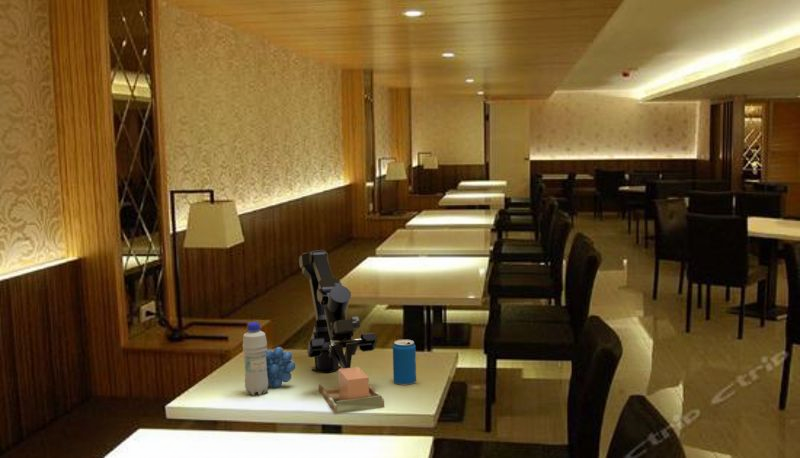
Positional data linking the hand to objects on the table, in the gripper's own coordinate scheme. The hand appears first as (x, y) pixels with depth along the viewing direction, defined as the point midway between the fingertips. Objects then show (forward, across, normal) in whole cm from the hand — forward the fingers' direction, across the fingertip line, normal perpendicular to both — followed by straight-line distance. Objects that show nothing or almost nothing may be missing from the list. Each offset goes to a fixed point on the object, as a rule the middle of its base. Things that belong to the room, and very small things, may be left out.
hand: (348, 372), depth 203 cm
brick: (+8, 0, +1) cm, 9 cm away
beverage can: (+1, +18, +10) cm, 21 cm away
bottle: (-5, -23, +15) cm, 28 cm away
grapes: (-6, -17, +17) cm, 25 cm away
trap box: (+6, 0, +4) cm, 7 cm away
